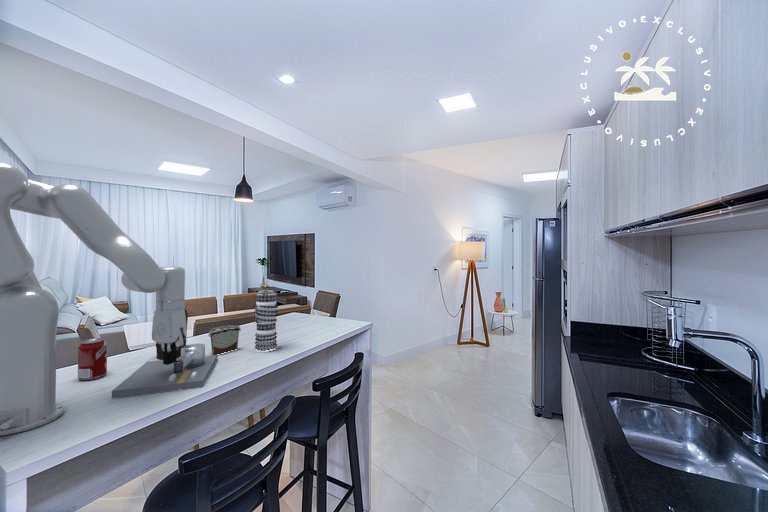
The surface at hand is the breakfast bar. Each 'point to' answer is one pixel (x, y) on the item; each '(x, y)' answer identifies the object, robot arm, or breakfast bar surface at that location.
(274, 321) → the decorative candle
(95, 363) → the soda can
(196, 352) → the metal ladle
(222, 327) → the food container
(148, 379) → the grey flat square slab
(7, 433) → the robot arm
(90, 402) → the breakfast bar surface
